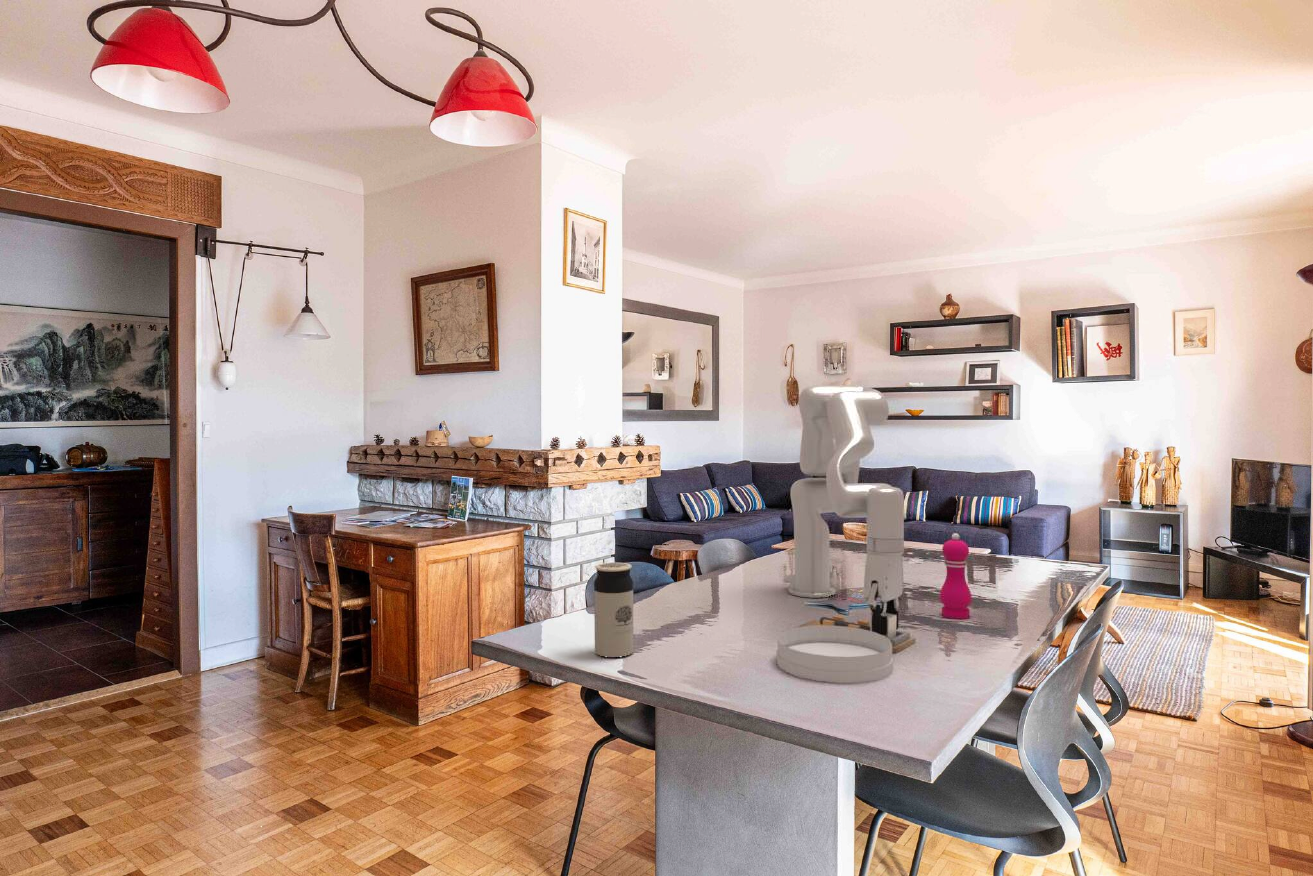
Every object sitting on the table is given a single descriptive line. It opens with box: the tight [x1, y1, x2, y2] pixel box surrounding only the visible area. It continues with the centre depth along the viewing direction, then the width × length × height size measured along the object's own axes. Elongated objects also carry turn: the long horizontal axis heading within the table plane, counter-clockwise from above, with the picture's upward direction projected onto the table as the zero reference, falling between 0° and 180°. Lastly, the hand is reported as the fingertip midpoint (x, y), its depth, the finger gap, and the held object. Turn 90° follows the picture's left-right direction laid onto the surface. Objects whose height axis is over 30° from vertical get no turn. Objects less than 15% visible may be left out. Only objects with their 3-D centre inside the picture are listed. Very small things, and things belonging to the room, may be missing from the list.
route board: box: [794, 619, 916, 654], centre depth 167 cm, size 24×10×1 cm, turn 49°
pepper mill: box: [939, 533, 973, 620], centre depth 185 cm, size 7×7×20 cm
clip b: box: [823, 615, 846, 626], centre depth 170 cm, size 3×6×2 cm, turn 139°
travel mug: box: [593, 562, 635, 657], centre depth 157 cm, size 8×8×18 cm
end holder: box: [888, 630, 911, 646], centre depth 162 cm, size 7×8×1 cm
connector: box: [818, 613, 897, 639], centre depth 167 cm, size 17×4×5 cm, turn 49°
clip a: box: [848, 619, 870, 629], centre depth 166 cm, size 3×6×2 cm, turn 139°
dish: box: [776, 625, 894, 684], centre depth 149 cm, size 22×22×5 cm
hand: (885, 630), depth 162 cm, fingers open, 4 cm apart
